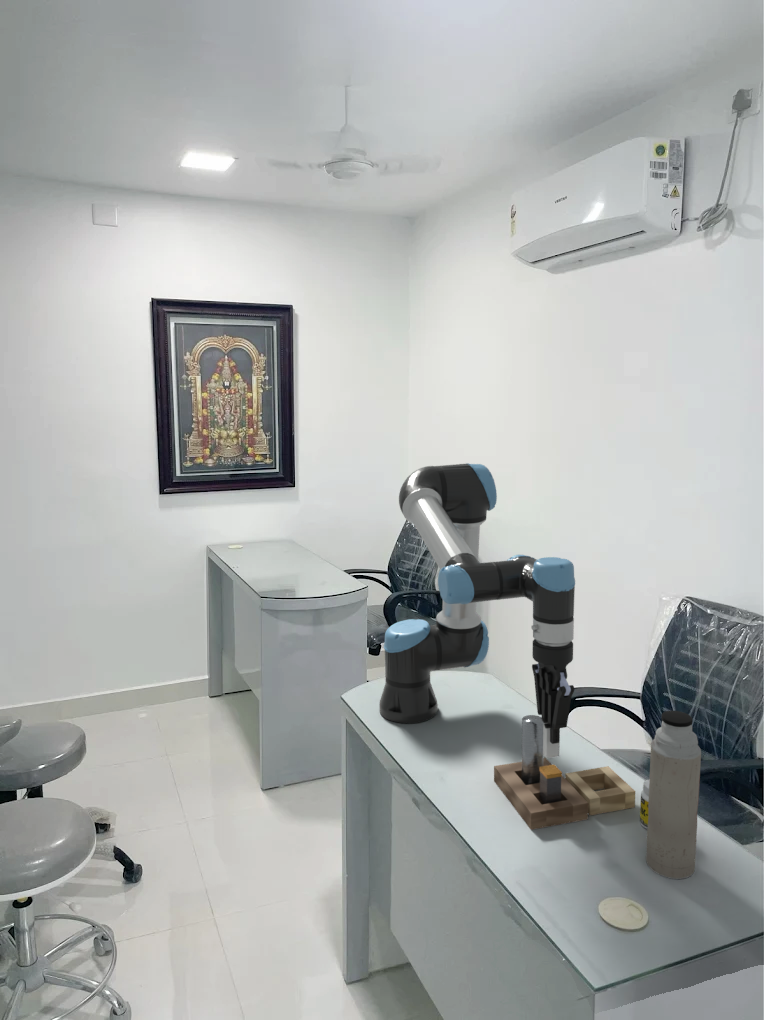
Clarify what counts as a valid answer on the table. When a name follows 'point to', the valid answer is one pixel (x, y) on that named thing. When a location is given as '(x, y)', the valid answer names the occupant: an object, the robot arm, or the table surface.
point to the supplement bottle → (644, 804)
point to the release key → (550, 784)
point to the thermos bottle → (673, 797)
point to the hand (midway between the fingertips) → (551, 755)
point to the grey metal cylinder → (532, 748)
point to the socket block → (530, 802)
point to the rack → (606, 800)
